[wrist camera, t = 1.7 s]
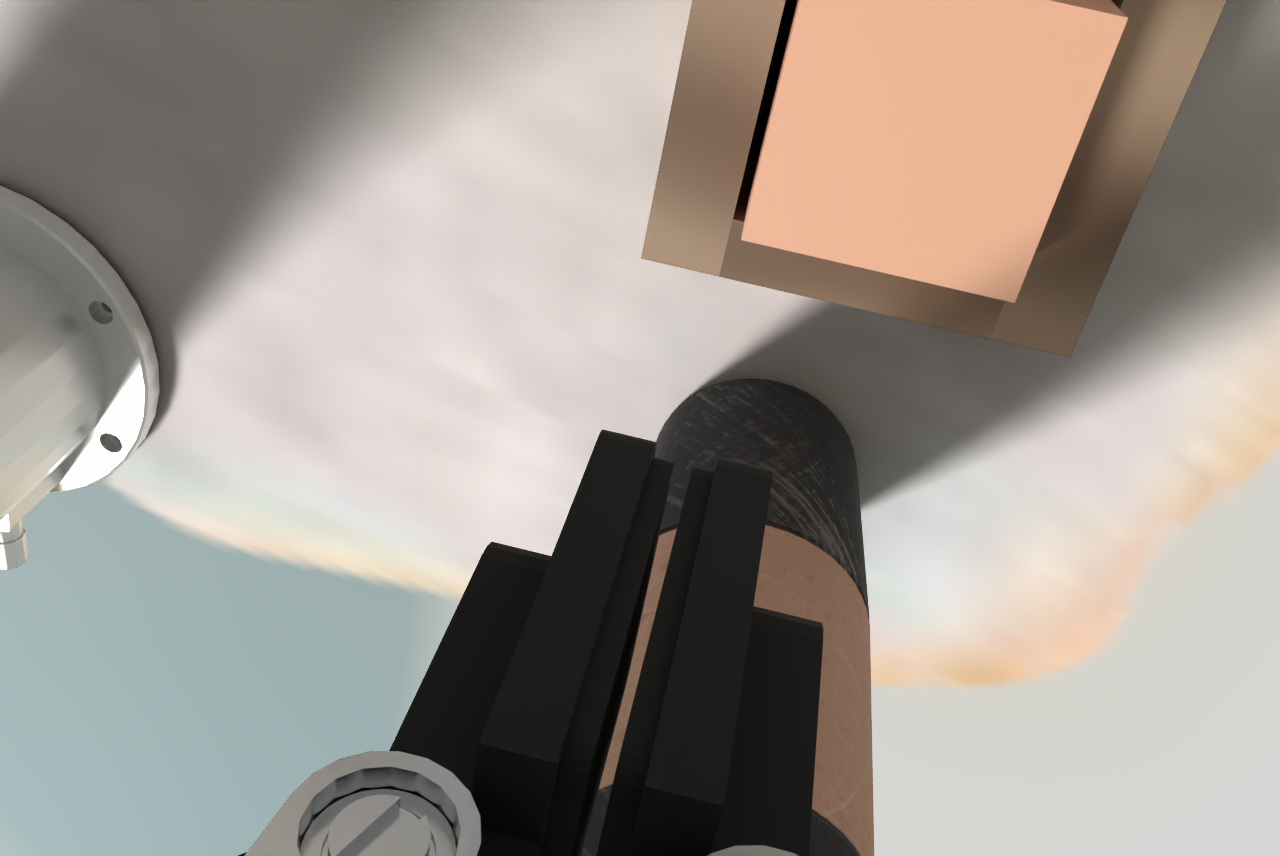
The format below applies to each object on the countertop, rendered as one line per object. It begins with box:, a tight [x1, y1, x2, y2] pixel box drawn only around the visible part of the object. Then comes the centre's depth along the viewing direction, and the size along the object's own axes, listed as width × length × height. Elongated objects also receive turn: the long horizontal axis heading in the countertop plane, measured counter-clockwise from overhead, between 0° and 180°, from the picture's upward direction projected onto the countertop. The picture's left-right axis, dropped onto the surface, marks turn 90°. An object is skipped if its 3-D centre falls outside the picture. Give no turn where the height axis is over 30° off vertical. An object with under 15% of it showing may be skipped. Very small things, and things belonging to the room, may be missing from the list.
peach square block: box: [741, 0, 1128, 303], centre depth 29 cm, size 7×7×5 cm
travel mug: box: [581, 379, 874, 856], centre depth 32 cm, size 8×8×20 cm
